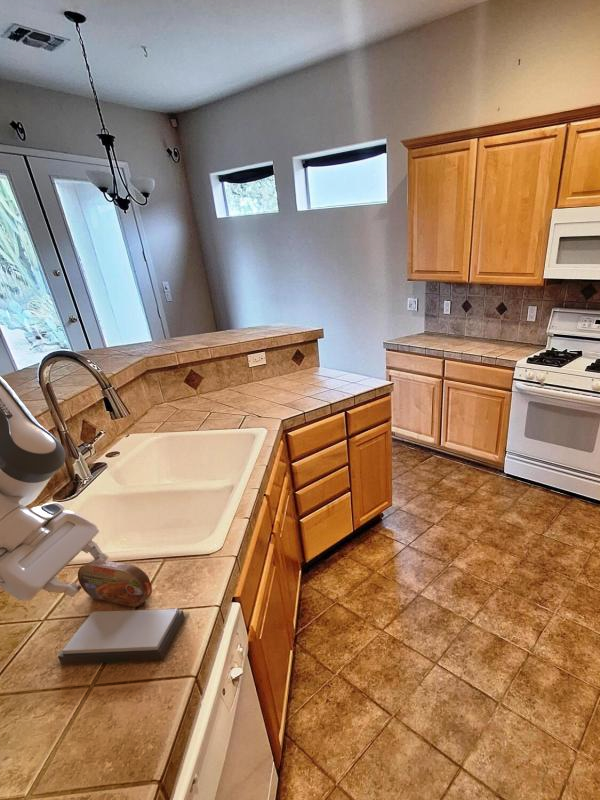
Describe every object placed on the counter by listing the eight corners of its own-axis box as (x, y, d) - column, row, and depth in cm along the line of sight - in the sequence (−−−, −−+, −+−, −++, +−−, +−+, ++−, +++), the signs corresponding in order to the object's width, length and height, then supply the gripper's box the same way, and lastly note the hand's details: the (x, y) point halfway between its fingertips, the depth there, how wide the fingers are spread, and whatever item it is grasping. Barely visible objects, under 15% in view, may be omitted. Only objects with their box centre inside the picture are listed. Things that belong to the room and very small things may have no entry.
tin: (83, 597, 85) (69, 563, 82) (97, 587, 88) (84, 554, 84) (147, 611, 82) (136, 576, 78) (159, 600, 85) (149, 566, 81)
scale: (62, 666, 70) (56, 653, 69) (96, 622, 79) (91, 609, 78) (162, 661, 72) (158, 648, 70) (185, 618, 81) (182, 606, 79)
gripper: (-19, 558, 67) (67, 603, 72) (62, 497, 86) (126, 537, 91) (-37, 581, 69) (48, 624, 74) (46, 517, 87) (110, 555, 92)
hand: (92, 576), depth 82 cm, fingers open, 8 cm apart
